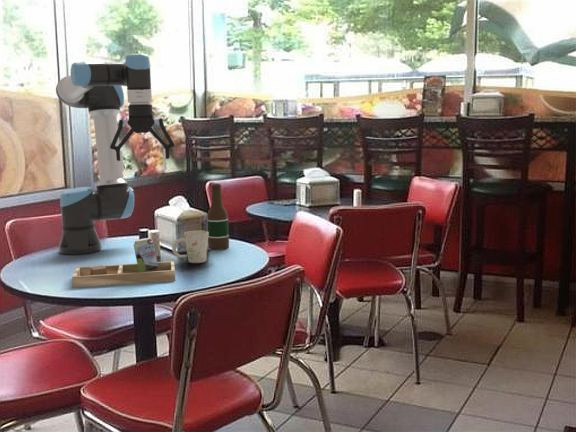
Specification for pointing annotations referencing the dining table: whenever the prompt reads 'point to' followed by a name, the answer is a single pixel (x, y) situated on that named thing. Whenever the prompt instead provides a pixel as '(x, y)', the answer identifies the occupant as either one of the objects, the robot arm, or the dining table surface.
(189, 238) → the mug
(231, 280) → the dining table surface
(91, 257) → the dining table surface
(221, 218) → the beer bottle
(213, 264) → the dining table surface
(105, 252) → the dining table surface
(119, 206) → the robot arm
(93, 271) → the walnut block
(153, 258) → the beverage can
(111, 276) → the walled box
